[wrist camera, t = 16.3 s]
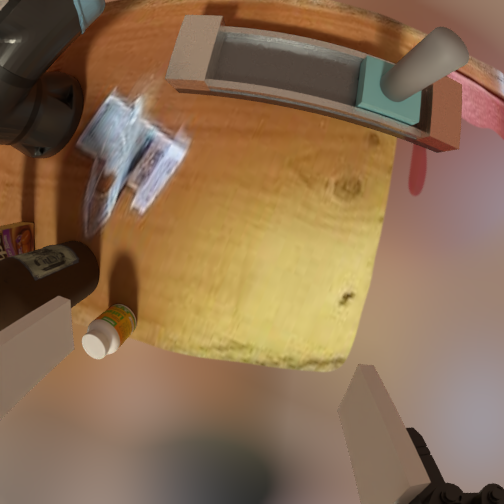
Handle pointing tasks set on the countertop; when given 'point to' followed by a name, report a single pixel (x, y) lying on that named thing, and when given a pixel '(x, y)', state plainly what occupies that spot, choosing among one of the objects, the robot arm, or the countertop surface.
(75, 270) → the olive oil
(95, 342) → the supplement bottle
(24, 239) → the candy box
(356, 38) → the countertop surface
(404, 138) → the rail track
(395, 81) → the carriage
